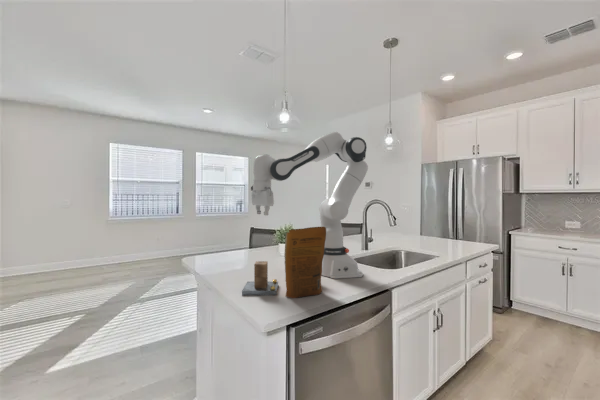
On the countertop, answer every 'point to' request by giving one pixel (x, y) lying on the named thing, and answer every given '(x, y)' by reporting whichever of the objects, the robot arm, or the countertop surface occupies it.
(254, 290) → the pin plate
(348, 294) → the countertop surface
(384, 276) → the countertop surface
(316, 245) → the pancake mix bag
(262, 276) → the brown wooden block
